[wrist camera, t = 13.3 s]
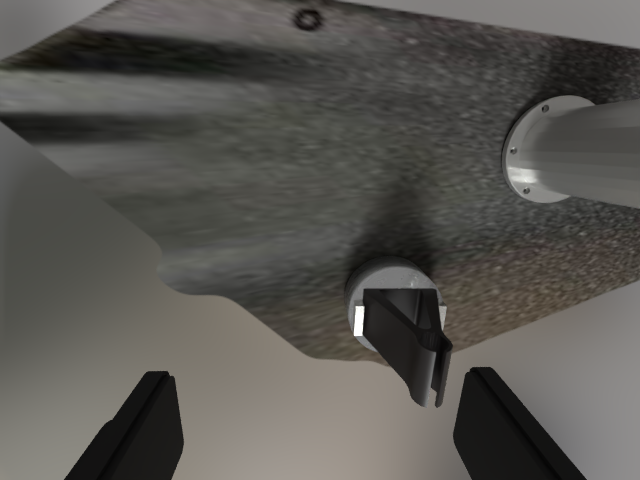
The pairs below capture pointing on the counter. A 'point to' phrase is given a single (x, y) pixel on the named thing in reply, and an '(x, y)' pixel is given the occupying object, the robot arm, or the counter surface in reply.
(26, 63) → the counter surface
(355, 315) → the grey short round piece
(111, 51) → the counter surface
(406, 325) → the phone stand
